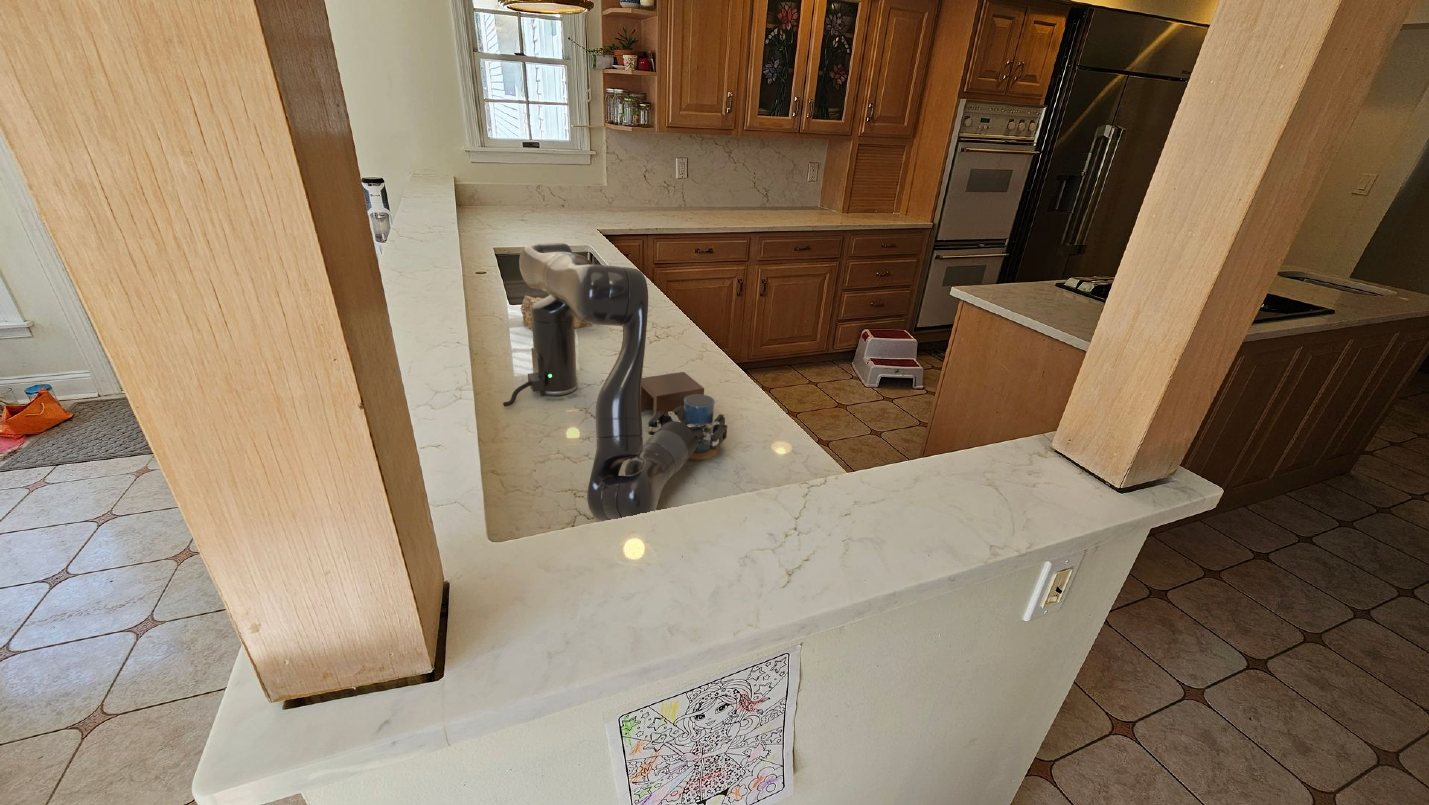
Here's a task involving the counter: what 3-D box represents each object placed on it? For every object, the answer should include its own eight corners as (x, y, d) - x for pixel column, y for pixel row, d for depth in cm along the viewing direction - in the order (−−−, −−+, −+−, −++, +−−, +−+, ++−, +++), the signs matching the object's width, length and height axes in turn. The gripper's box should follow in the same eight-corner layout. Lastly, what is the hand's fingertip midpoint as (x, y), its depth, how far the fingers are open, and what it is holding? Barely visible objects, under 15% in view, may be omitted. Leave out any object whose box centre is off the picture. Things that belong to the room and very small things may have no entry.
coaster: (686, 463, 116) (686, 460, 116) (666, 442, 123) (666, 439, 123) (727, 454, 120) (727, 451, 120) (706, 434, 127) (706, 431, 127)
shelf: (656, 430, 128) (656, 396, 124) (638, 411, 136) (638, 378, 132) (702, 421, 133) (704, 388, 129) (682, 403, 141) (683, 371, 137)
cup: (690, 455, 118) (692, 408, 114) (676, 441, 123) (678, 396, 118) (717, 449, 120) (720, 404, 116) (703, 436, 125) (705, 392, 121)
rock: (512, 349, 166) (502, 290, 166) (512, 361, 186) (504, 309, 187) (613, 337, 175) (604, 281, 175) (603, 350, 195) (595, 300, 196)
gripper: (706, 440, 103) (737, 404, 117) (631, 423, 107) (669, 390, 121) (704, 478, 106) (734, 438, 120) (631, 459, 110) (668, 423, 124)
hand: (701, 414), depth 121 cm, fingers open, 8 cm apart
